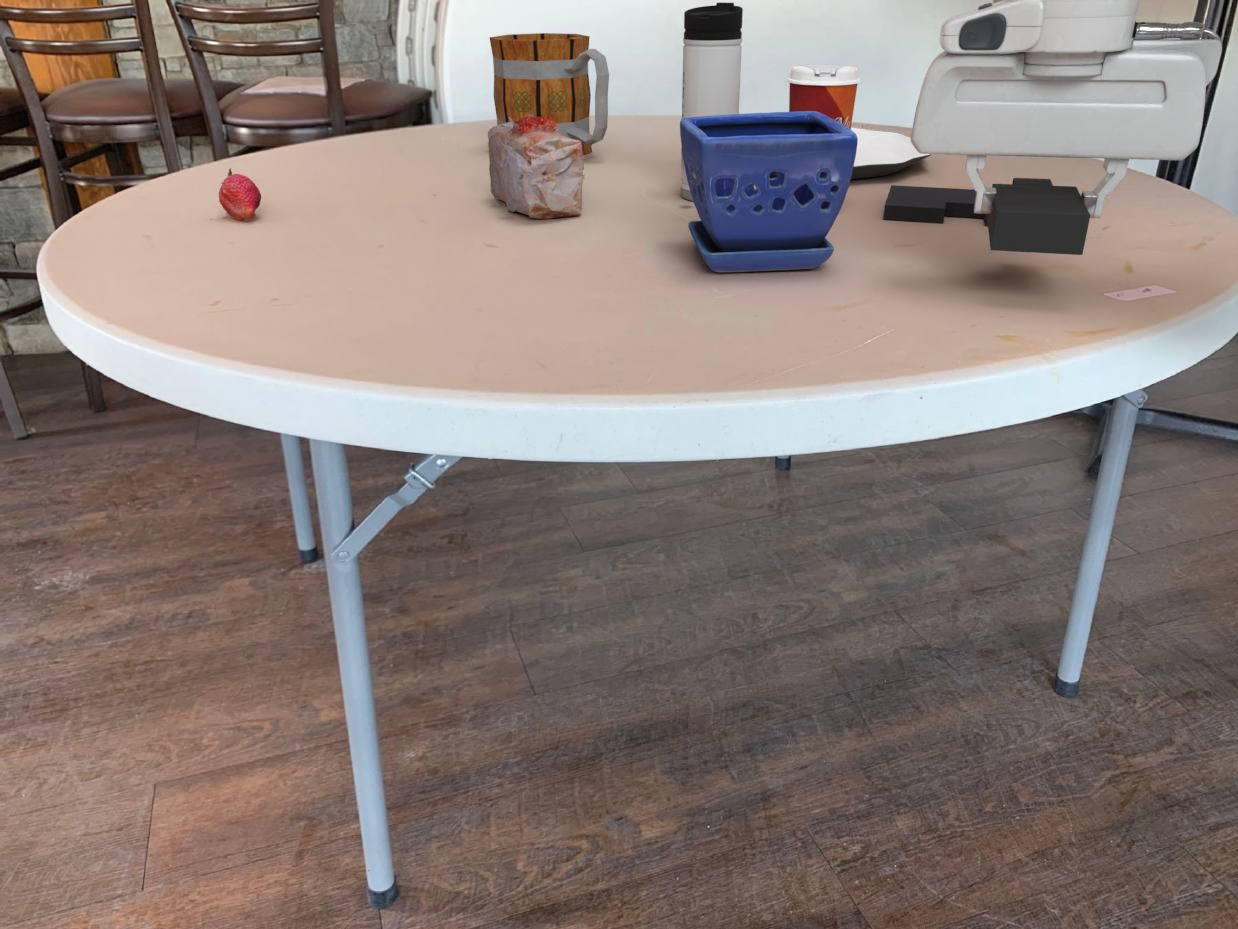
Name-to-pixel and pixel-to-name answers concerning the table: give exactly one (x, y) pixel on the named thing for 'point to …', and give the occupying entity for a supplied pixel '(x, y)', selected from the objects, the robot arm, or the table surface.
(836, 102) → the paper cup
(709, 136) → the flower pot
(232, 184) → the fruit
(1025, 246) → the black block
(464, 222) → the table surface
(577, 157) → the wrapped gift box
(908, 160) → the plate
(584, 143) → the mug
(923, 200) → the charcoal pad
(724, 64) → the travel mug
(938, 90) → the robot arm
